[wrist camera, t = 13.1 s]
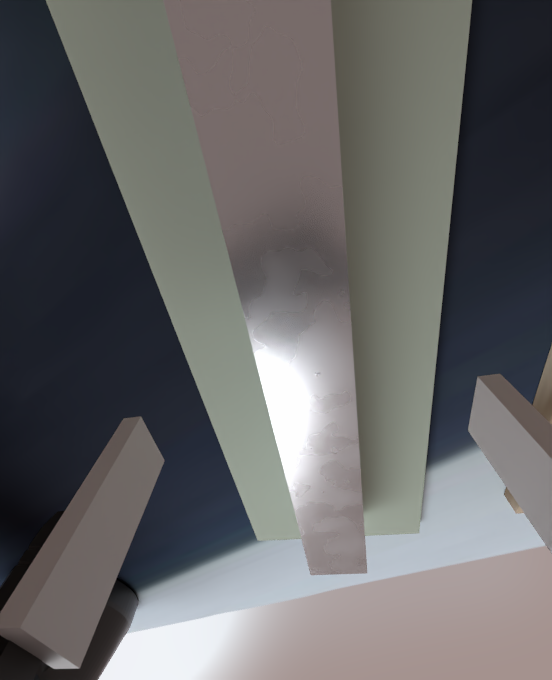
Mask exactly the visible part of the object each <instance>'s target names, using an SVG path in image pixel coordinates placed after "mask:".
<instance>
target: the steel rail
mask: <svg viewBox="0 0 552 680" xmlns="http://www.w3.org/2000/svg"><path fill="white" fill-rule="evenodd" d="M163 2H164V6H165V10H166V14H167V18H168V22H169V26H170V30H171V33H172V37H173V41H174V45H175V49H176V53H177V57H178V61H179V65H180V68H181V72H182V76H183V80H184V84H185V88H186V92H187V96H188V99H189V103H190V107H191V111H192V115H193V119H194V123H195V127H196V131H197V134H198V138H199V142H200V146H201V150H202V154H203V158H204V162H205V166H206V169H207V173H208V177H209V181H210V185H211V189H212V193H213V197H214V201H215V204H216V208H217V212H218V216H219V220H220V224H221V228H222V232H223V236H224V239H225V243H226V247H227V251H228V255H229V259H230V263H231V267H232V271H233V274H234V278H235V282H236V286H237V290H238V294H239V298H240V302H241V306H242V309H243V313H244V317H245V321H246V325H247V329H248V333H249V337H250V341H251V344H252V348H253V352H254V356H255V360H256V364H257V368H258V372H259V375H260V379H261V383H262V387H263V391H264V395H265V399H266V403H267V407H268V410H269V414H270V418H271V422H272V426H273V430H274V434H275V438H276V442H277V445H278V449H279V453H280V457H281V461H282V465H283V469H284V473H285V477H286V480H287V484H288V488H289V492H290V496H291V500H292V504H293V508H294V512H295V515H296V519H297V523H298V527H299V531H300V535H301V539H302V543H303V547H304V550H305V554H306V558H307V562H308V566H309V570H310V574H311V575H328V574H359V573H367V562H366V546H365V531H364V515H363V499H362V483H361V468H360V452H359V436H358V420H357V405H356V389H355V373H354V358H353V342H352V326H351V310H350V295H349V279H348V263H347V247H346V232H345V216H344V200H343V184H342V169H341V153H340V137H339V121H338V106H337V90H336V74H335V59H334V43H333V27H332V11H331V0H163Z"/></svg>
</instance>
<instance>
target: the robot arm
mask: <svg viewBox="0 0 552 680" xmlns="http://www.w3.org/2000/svg"><path fill="white" fill-rule="evenodd" d="M468 431H469V433H470V434H471V436H472V437H473V439H474V440H475V441H476V443H477V444H478V446H479V447H480V449H481V450H482V452H483V453H484V455H485V456H486V458H487V459H488V461H489V462H490V464H491V465H492V466H493V468H494V469H495V471H496V472H497V474H498V475H499V477H500V478H501V480H502V481H503V483H504V484H505V486H506V487H507V489H508V490H509V491H510V493H511V494H512V496H513V497H514V499H515V500H516V502H517V503H518V505H519V506H520V508H521V509H522V511H523V512H524V514H525V515H526V516H527V518H528V519H529V521H530V522H531V524H532V525H533V527H534V528H535V530H536V531H537V533H538V534H539V536H540V537H541V539H542V540H543V541H544V543H545V544H546V546H547V547H548V549H549V550H550V552H551V553H552V424H551V423H550V422H549V421H547V420H546V419H545V418H544V417H543V416H542V415H541V414H540V413H539V412H538V411H537V410H536V409H535V408H534V407H533V406H532V405H531V404H530V403H529V402H528V401H527V400H526V399H525V398H524V397H523V396H522V395H521V394H520V393H519V392H518V391H517V390H516V389H515V388H514V387H513V386H512V385H511V384H510V383H509V382H508V381H507V380H506V379H505V378H504V377H503V376H502V375H501V374H494V375H486V376H478V377H477V383H476V388H475V394H474V400H473V405H472V411H471V416H470V422H469V427H468ZM163 463H164V459H163V457H162V455H161V453H160V451H159V449H158V448H157V446H156V444H155V442H154V440H153V438H152V436H151V434H150V433H149V431H148V429H147V427H146V425H145V423H144V421H143V419H142V418H141V417H132V418H124V419H123V420H122V422H121V423H120V425H119V427H118V428H117V430H116V431H115V433H114V434H113V436H112V438H111V439H110V441H109V442H108V444H107V445H106V447H105V449H104V450H103V452H102V453H101V455H100V456H99V458H98V460H97V461H96V463H95V464H94V466H93V467H92V469H91V471H90V472H89V474H88V475H87V477H86V478H85V480H84V482H83V483H82V485H81V486H80V488H79V489H78V491H77V493H76V494H75V496H74V497H73V499H72V500H71V502H70V504H69V505H68V507H67V508H66V510H65V511H58V512H57V513H56V514H55V515H54V516H53V517H52V518H51V519H50V520H49V521H48V522H47V523H46V524H45V525H44V526H43V527H42V528H41V529H40V530H39V532H38V533H37V535H36V536H35V538H34V539H33V541H32V542H31V544H30V545H29V549H28V550H26V551H25V553H24V554H23V556H22V557H21V559H20V560H19V564H18V565H17V566H15V568H14V569H13V570H12V571H11V572H10V573H9V575H8V576H7V578H6V579H5V581H4V582H3V584H2V585H1V587H0V680H98V679H99V677H100V675H101V674H102V672H103V671H104V669H105V667H106V666H107V664H108V662H109V661H110V659H111V657H112V656H113V654H114V653H115V651H116V649H117V647H118V646H119V644H120V642H121V641H122V639H123V637H124V636H125V635H126V633H127V631H128V630H129V628H130V626H131V623H132V620H133V617H134V614H135V611H136V609H137V606H138V599H137V597H136V595H135V594H134V593H133V591H132V590H131V589H129V588H128V587H127V586H126V585H124V584H123V583H121V582H119V581H118V580H116V578H117V576H118V574H119V571H120V569H121V566H122V564H123V561H124V559H125V556H126V554H127V552H128V549H129V547H130V544H131V542H132V539H133V537H134V534H135V532H136V530H137V527H138V525H139V522H140V520H141V517H142V515H143V512H144V510H145V507H146V505H147V503H148V500H149V498H150V495H151V493H152V490H153V488H154V485H155V483H156V481H157V478H158V476H159V473H160V471H161V468H162V466H163Z"/></svg>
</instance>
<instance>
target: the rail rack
mask: <svg viewBox="0 0 552 680" xmlns="http://www.w3.org/2000/svg"><path fill="white" fill-rule="evenodd" d="M532 406H533V407H534V408H535V409H536V410H537V411H538V412H539V413H540V414H541V415H542V416H543V417H544V418H545V419H546V420H547V421H549V422H550V423H551V424H552V345H551V348H550V351H549V354H548V358H547V361H546V364H545V367H544V370H543V373H542V376H541V380H540V383H539V386H538V389H537V392H536V395H535V399H534V402H533V405H532ZM504 495H505V497H506V498H507V500H508V502H509V503H510V505H511V506H512V508H513V509H514V511H515V513H524V512H523V511H522V509H521V508H520V506H519V505H518V503H517V502H516V500H515V499H514V497H513V496H512V494H511V493H510V491H509V490H508V489H507V487H506V490H505V493H504Z"/></svg>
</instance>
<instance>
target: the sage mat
mask: <svg viewBox="0 0 552 680" xmlns="http://www.w3.org/2000/svg"><path fill="white" fill-rule="evenodd" d="M46 2H47V5H48V7H49V10H50V12H51V15H52V17H53V20H54V23H55V25H56V28H57V30H58V33H59V35H60V38H61V40H62V43H63V45H64V48H65V51H66V53H67V56H68V58H69V61H70V63H71V66H72V68H73V71H74V74H75V76H76V79H77V81H78V84H79V86H80V89H81V91H82V94H83V96H84V99H85V102H86V104H87V107H88V109H89V112H90V114H91V117H92V119H93V122H94V124H95V127H96V130H97V132H98V135H99V137H100V140H101V142H102V145H103V147H104V150H105V153H106V155H107V158H108V160H109V163H110V165H111V168H112V170H113V173H114V175H115V178H116V181H117V183H118V186H119V188H120V191H121V193H122V196H123V198H124V201H125V203H126V206H127V209H128V211H129V214H130V216H131V219H132V221H133V224H134V226H135V229H136V231H137V234H138V237H139V239H140V242H141V244H142V247H143V249H144V252H145V254H146V257H147V260H148V262H149V265H150V267H151V270H152V272H153V275H154V277H155V280H156V282H157V285H158V288H159V290H160V293H161V295H162V298H163V300H164V303H165V305H166V308H167V310H168V313H169V316H170V318H171V321H172V323H173V326H174V328H175V331H176V333H177V336H178V339H179V341H180V344H181V346H182V349H183V351H184V354H185V356H186V359H187V361H188V364H189V367H190V369H191V372H192V374H193V377H194V379H195V382H196V384H197V387H198V389H199V392H200V395H201V397H202V400H203V402H204V405H205V407H206V410H207V412H208V415H209V418H210V420H211V423H212V425H213V428H214V430H215V433H216V435H217V438H218V440H219V443H220V446H221V448H222V451H223V453H224V456H225V458H226V461H227V463H228V466H229V468H230V471H231V474H232V476H233V479H234V481H235V484H236V486H237V489H238V491H239V494H240V497H241V499H242V502H243V504H244V507H245V509H246V512H247V514H248V517H249V519H250V522H251V525H252V527H253V530H254V532H255V535H256V537H257V540H258V541H266V540H287V539H301V535H300V531H299V527H298V523H297V519H296V515H295V512H294V508H293V504H292V500H291V496H290V492H289V488H288V484H287V480H286V477H285V473H284V469H283V465H282V461H281V457H280V453H279V449H278V445H277V442H276V438H275V434H274V430H273V426H272V422H271V418H270V414H269V410H268V407H267V403H266V399H265V395H264V391H263V387H262V383H261V379H260V375H259V372H258V368H257V364H256V360H255V356H254V352H253V348H252V344H251V341H250V337H249V333H248V329H247V325H246V321H245V317H244V313H243V309H242V306H241V302H240V298H239V294H238V290H237V286H236V282H235V278H234V274H233V271H232V267H231V263H230V259H229V255H228V251H227V247H226V243H225V239H224V236H223V232H222V228H221V224H220V220H219V216H218V212H217V208H216V204H215V201H214V197H213V193H212V189H211V185H210V181H209V177H208V173H207V169H206V166H205V162H204V158H203V154H202V150H201V146H200V142H199V138H198V134H197V131H196V127H195V123H194V119H193V115H192V111H191V107H190V103H189V99H188V96H187V92H186V88H185V84H184V80H183V76H182V72H181V68H180V65H179V61H178V57H177V53H176V49H175V45H174V41H173V37H172V33H171V30H170V26H169V22H168V18H167V14H166V10H165V6H164V2H163V0H46ZM471 8H472V0H331V11H332V27H333V43H334V59H335V74H336V90H337V106H338V121H339V137H340V153H341V169H342V184H343V200H344V216H345V232H346V247H347V263H348V279H349V295H350V310H351V326H352V342H353V358H354V373H355V389H356V405H357V420H358V436H359V452H360V468H361V483H362V499H363V515H364V531H365V536H371V535H392V534H413V533H419V529H420V519H421V509H422V499H423V489H424V479H425V469H426V459H427V449H428V439H429V429H430V419H431V409H432V398H433V388H434V378H435V368H436V358H437V348H438V338H439V328H440V318H441V308H442V298H443V288H444V278H445V268H446V258H447V248H448V238H449V228H450V218H451V208H452V198H453V188H454V178H455V168H456V158H457V148H458V138H459V128H460V118H461V108H462V98H463V88H464V78H465V68H466V58H467V48H468V38H469V28H470V18H471Z"/></svg>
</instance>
